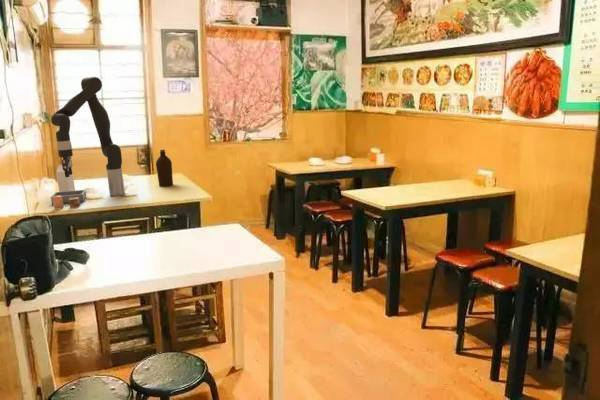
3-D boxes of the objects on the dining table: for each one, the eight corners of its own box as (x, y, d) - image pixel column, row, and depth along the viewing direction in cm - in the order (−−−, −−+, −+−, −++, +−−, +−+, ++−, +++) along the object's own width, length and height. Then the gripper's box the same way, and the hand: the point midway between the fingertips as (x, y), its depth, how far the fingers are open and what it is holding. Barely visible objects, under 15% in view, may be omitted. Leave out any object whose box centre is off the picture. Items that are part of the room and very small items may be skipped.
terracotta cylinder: (64, 206, 296) (62, 195, 294) (62, 208, 291) (60, 197, 289) (55, 207, 294) (53, 195, 293) (53, 209, 290) (51, 197, 288)
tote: (87, 197, 317) (86, 189, 316) (83, 202, 304) (82, 194, 303) (56, 199, 313) (55, 192, 312) (52, 205, 300) (50, 197, 299)
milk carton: (68, 193, 330) (64, 165, 326) (59, 193, 332) (54, 165, 327) (75, 191, 337) (71, 163, 332) (66, 190, 338) (61, 163, 334)
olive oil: (162, 187, 337) (158, 151, 331) (155, 185, 345) (151, 150, 339) (176, 185, 344) (173, 149, 337) (169, 183, 352) (166, 148, 345)
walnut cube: (80, 205, 298) (79, 197, 297) (79, 207, 293) (77, 198, 292) (71, 205, 297) (70, 197, 295) (70, 207, 292) (68, 199, 291)
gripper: (69, 149, 281) (73, 177, 285) (74, 146, 295) (77, 173, 299) (55, 150, 280) (59, 178, 284) (60, 147, 293) (64, 174, 297)
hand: (68, 175), depth 291 cm, fingers open, 8 cm apart
